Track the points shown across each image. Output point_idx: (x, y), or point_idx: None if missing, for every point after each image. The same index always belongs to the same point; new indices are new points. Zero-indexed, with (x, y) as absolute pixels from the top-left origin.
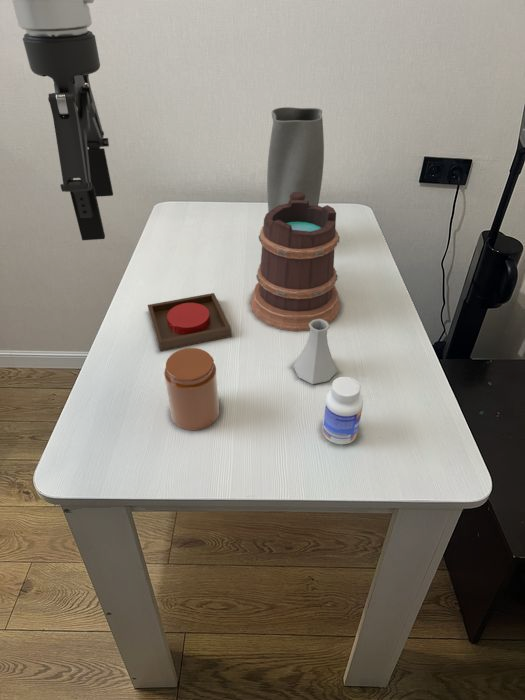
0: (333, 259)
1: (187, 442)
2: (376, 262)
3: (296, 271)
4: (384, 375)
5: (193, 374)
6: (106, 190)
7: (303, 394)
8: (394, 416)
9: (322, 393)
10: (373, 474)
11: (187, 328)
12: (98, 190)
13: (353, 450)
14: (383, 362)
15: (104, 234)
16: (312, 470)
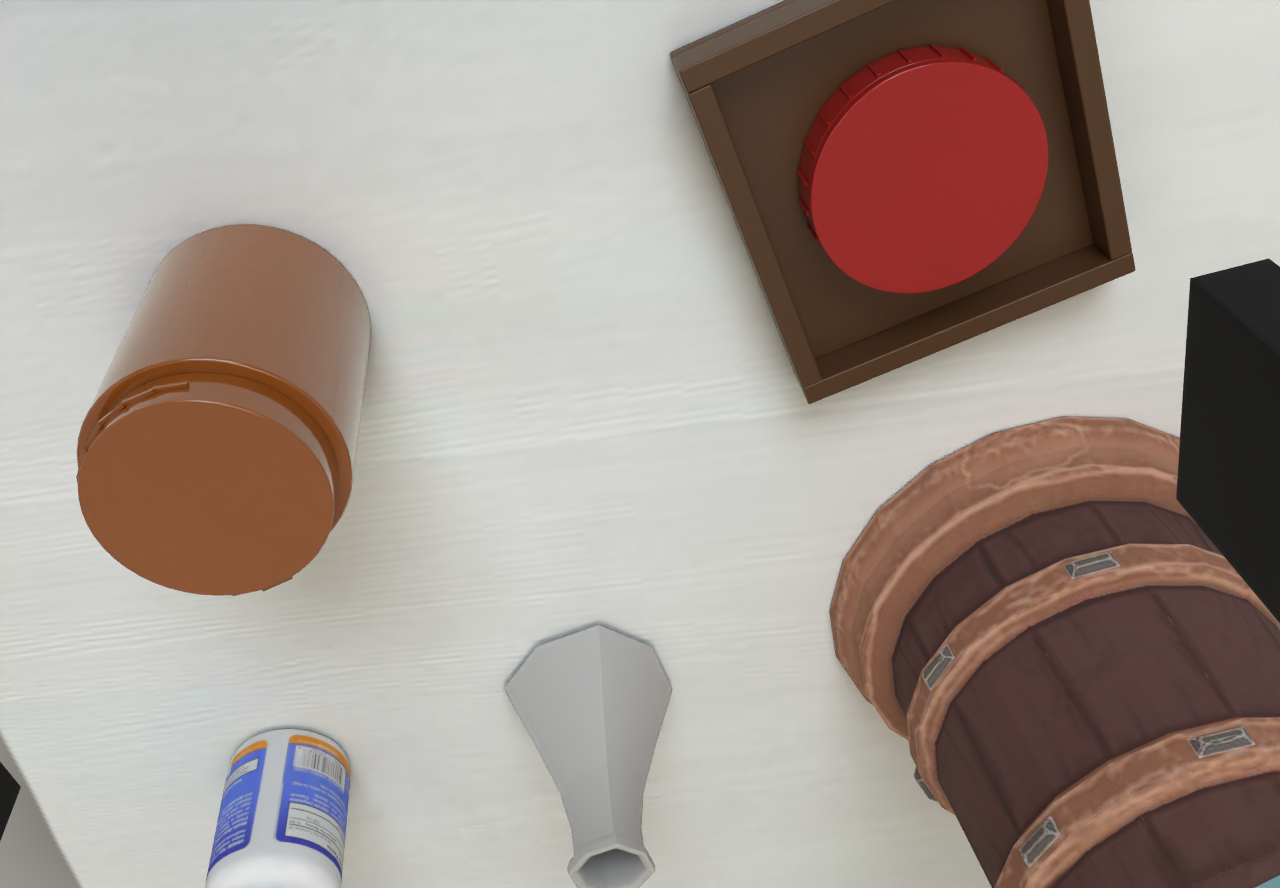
0: None
1: (77, 329)
2: None
3: (978, 809)
4: None
5: (128, 538)
6: (1219, 494)
7: (450, 663)
8: (397, 875)
9: (466, 712)
10: (144, 841)
11: (809, 202)
12: (1238, 399)
13: None
14: (650, 847)
15: (3, 810)
16: (100, 714)
